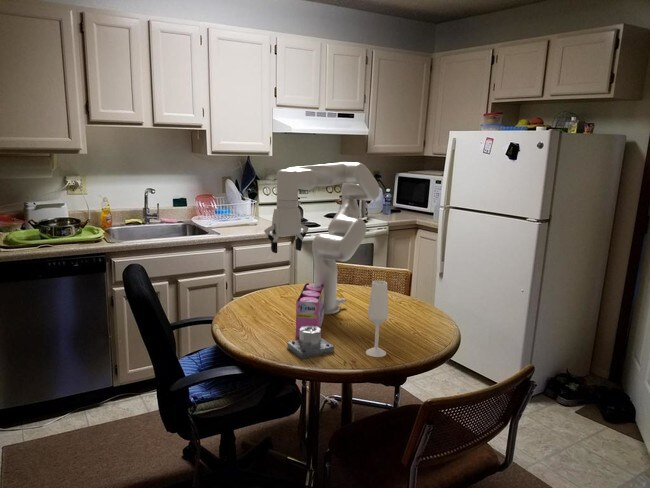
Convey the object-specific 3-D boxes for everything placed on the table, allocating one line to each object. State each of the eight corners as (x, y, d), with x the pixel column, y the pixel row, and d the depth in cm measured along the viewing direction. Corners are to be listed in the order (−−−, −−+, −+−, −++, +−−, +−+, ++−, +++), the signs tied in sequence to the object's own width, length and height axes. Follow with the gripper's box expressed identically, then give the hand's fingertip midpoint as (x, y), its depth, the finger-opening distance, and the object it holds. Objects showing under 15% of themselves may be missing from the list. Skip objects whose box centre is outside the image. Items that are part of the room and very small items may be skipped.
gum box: (305, 314, 191) (305, 282, 189) (324, 316, 190) (325, 283, 188) (295, 337, 168) (295, 300, 165) (317, 339, 167) (318, 302, 164)
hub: (313, 338, 162) (314, 324, 161) (323, 345, 157) (324, 330, 156) (296, 341, 159) (296, 327, 158) (306, 349, 154) (306, 334, 153)
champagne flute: (383, 348, 161) (387, 279, 156) (388, 356, 154) (392, 285, 150) (363, 348, 160) (367, 279, 155) (368, 357, 153) (371, 285, 149)
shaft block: (318, 341, 165) (318, 322, 164) (333, 351, 157) (334, 331, 155) (287, 347, 159) (287, 328, 158) (301, 359, 151) (302, 338, 149)
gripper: (303, 202, 178) (302, 247, 181) (260, 204, 169) (260, 251, 172) (313, 204, 172) (312, 251, 175) (269, 206, 163) (269, 255, 166)
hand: (286, 251), depth 174 cm, fingers open, 9 cm apart
